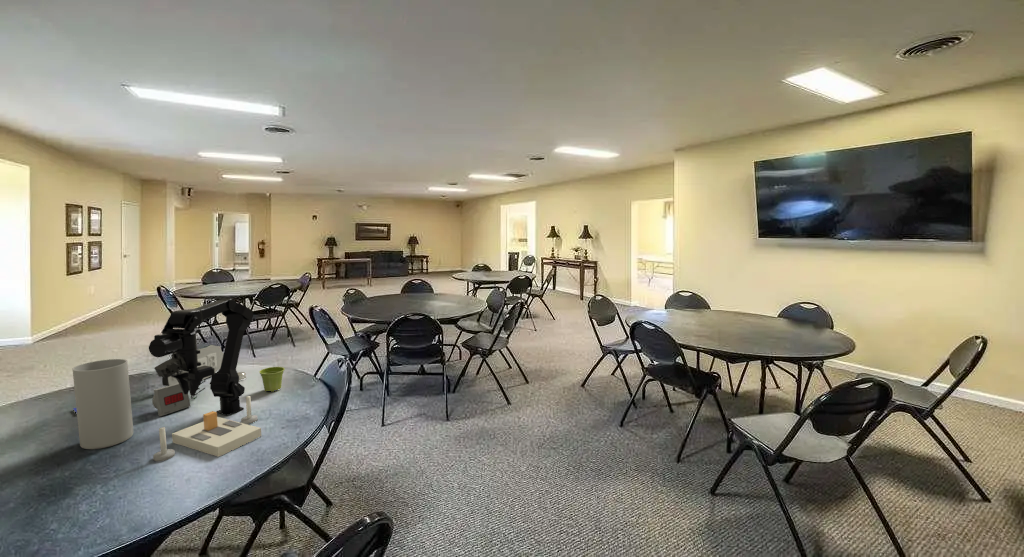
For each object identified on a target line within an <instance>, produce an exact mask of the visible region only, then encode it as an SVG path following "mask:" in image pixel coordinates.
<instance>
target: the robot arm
mask: <svg viewBox="0 0 1024 557" xmlns="http://www.w3.org/2000/svg"><path fill="white" fill-rule="evenodd" d="M219 314H221V315H222V316H223V317H225V323H226V326H227V329H228V333H227V337H226V342H225V345H224V346H225V347H224V351H223V359H222V363H221V367H220V369H219V370H217V371H216V372H215V369H214V368H213V367H211V366H201V362H198V357H197V354H200V350H198V346H197V345H198V344H197V334H199V333H201V332H202V330H201V329H199V328H198V327H199V326H200V325H201V324H202V323H203V321H204V320H207V319H209V318H211V317H214V316H216V315H219ZM253 317H254V312H253V311H252V309H251V308H250V307H247V306H246V305H243V304H242V303H239V302H237V301H236V300H234V299H232V298H220V299H218V300H215V301H213V302H210V303H208V304H204V305H201V306H198V307H195V308H189V309H178V310H174V311H172V312H171V313H170V316H169V317H168V319H167V321H166V322H165V325H164V327H163V329H162V331H161V333H160V334H156V335H155V334H154V336H153V338H154V339H152V340H151V342H150V343H149V345H148V350H149V352H150V353H149V354H150V355H152V356H153V357H155V358H162V357H165V356H169V355H170V356H171V358H169V359H168V360H165V361H163V362H161V363H160V364H158V365H156V366H155V367H154V370H155V372H156V374H157V375H158V377H160V378H161V377H164V378H168V377H170V376H171V377H173V378H175V379H177V381H178V383H179V385H180V387H181V389H182V391H183V393H184V394H188V395H190V397H193V395H195V394H196V393H197V391H198V390H199V389H198V388H200V386H201V385H200V383H202V381H204V380H203V378H205V377H208V376H210V377H211V379H210V382H209V385H210V386H209V390H211V392H212V395H213V396H214V397H215V398H216V397H218V398H219V406H220V407H219V408H220V409H219V410H216V411H215V412H217V414H221V415H224V416H229V415H232V414H235V413H238V412H240V411H242V410H244V409H245V408H244V407H243V406H241V401H240V397H242V396H243V395H244V394H245V391H246V390H245V389H246V387H245V386H244V385H242V384H241V383H240V381H239V376H238V371H237V367H238V363H239V362H238V361H239V357H240V351H241V348H242V344H243V339H244V334H245V331H246V330H247V329H248V328H249V327H250V326H251V323H252V320H253ZM197 366H201V367H197ZM208 378H209V377H208ZM197 389H198V390H197ZM195 396H196V395H195Z"/></svg>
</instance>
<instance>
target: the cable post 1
mask: <svg viewBox="0 0 1024 557" xmlns="http://www.w3.org/2000/svg"><path fill="white" fill-rule="evenodd" d="M158 434H159V444H160V445H159V446H160V447H159V448H160V451H158V452H156V453H154V454H153V456H152V458H153V459H152V460H153V461H154V462H164V461H165V462H166V461H168V460H171V459H173V458H174V457H175V456H176V452H175V449H172V448H170V449H169V448H167V437H166V427H165V426H163V427H160V428H159V429H158Z"/></svg>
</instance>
